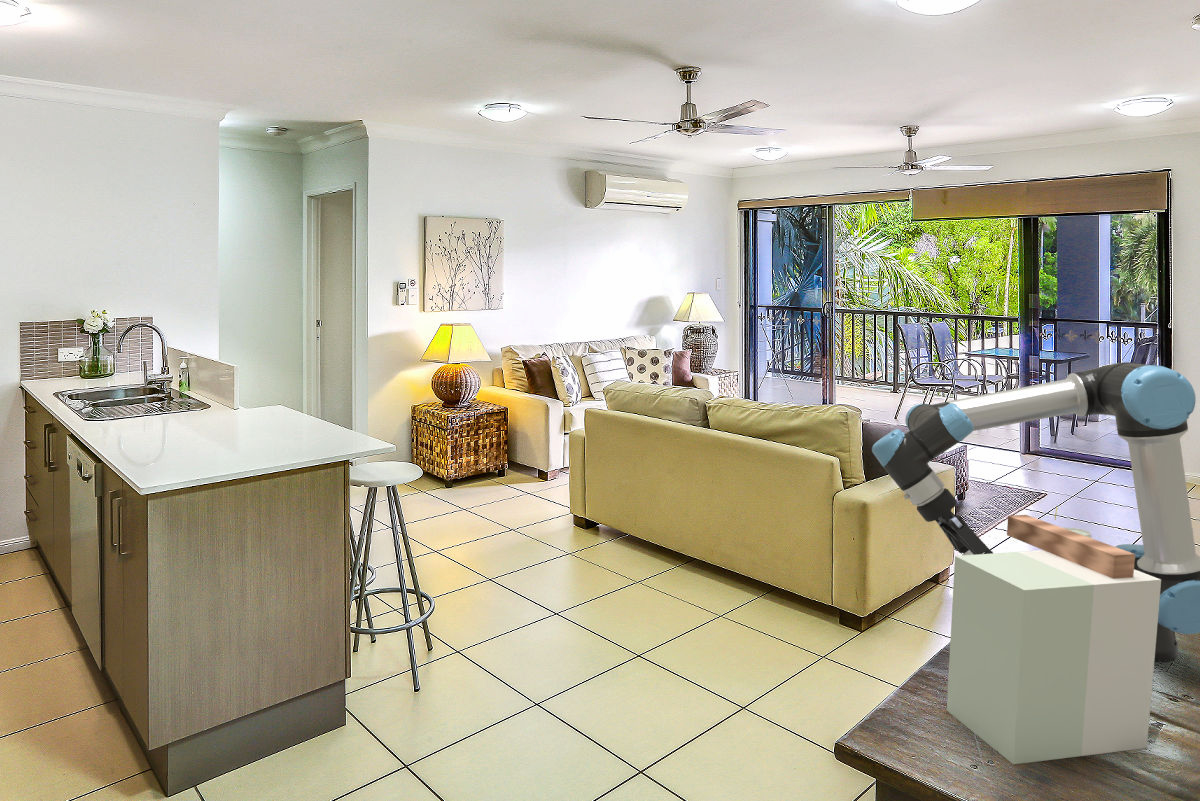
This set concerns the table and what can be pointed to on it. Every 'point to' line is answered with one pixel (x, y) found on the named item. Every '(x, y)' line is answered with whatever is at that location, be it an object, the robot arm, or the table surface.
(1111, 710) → the pale green cube
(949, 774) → the table surface
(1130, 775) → the table surface
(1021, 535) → the bar
